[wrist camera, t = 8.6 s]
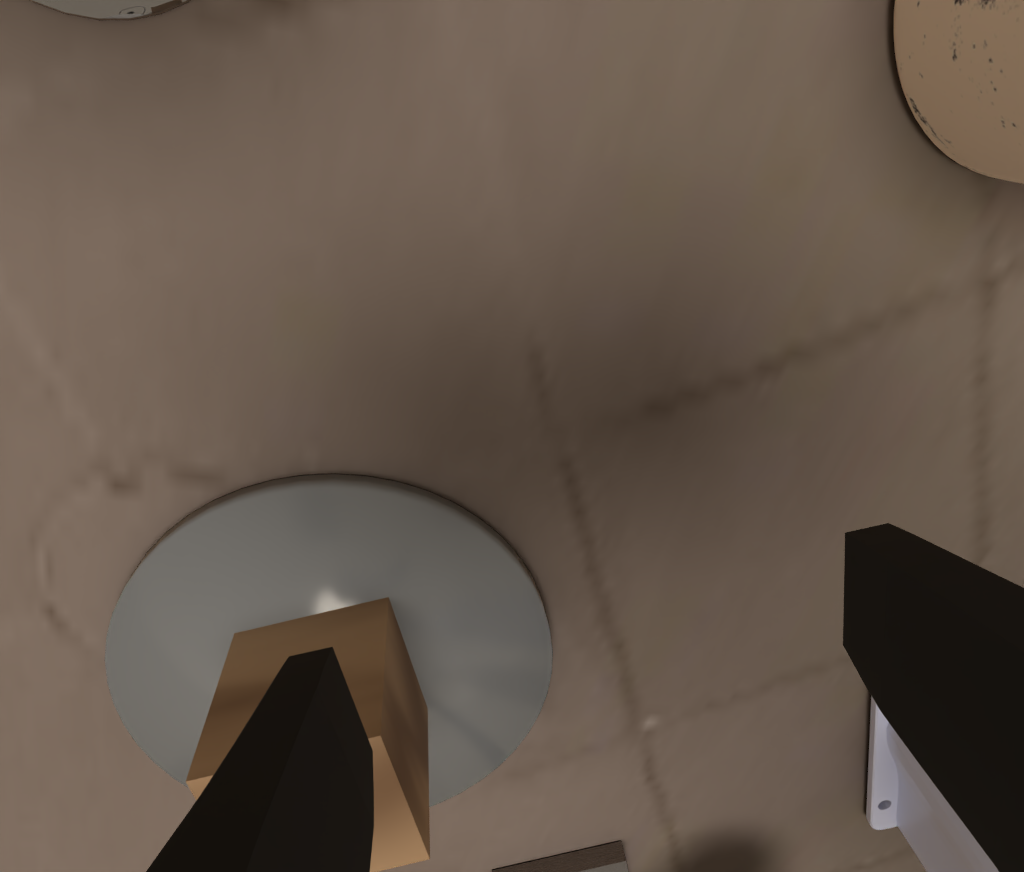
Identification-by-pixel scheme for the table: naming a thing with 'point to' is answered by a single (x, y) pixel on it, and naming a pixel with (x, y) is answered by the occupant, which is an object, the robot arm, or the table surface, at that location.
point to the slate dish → (329, 586)
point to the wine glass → (112, 8)
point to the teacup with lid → (966, 79)
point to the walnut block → (378, 699)
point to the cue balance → (578, 861)
